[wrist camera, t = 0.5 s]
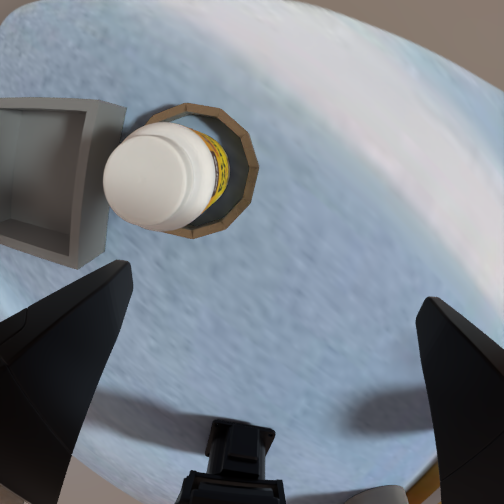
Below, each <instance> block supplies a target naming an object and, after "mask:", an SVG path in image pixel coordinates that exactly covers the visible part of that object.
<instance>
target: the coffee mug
mask: <svg viewBox="0 0 504 504" xmlns="http://www.w3.org/2000/svg"><path fill="white" fill-rule="evenodd" d="M344 504H409V503H408V500H407V497H406V494H405V491H404V488H403V487H401V486H397V485H387V486H381V487H377V488H373V489H370V490H367V491H364V492H362V493H359V494H357V495H355V496H354V497H352V498H350V499H349V500H347V501H346V502H345V503H344Z"/></svg>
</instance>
